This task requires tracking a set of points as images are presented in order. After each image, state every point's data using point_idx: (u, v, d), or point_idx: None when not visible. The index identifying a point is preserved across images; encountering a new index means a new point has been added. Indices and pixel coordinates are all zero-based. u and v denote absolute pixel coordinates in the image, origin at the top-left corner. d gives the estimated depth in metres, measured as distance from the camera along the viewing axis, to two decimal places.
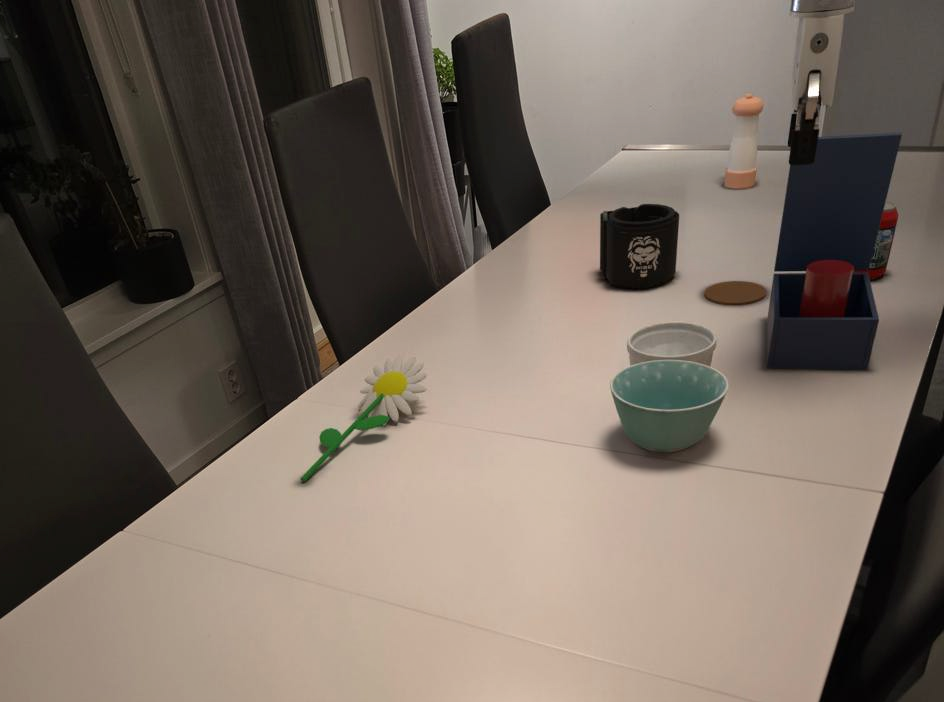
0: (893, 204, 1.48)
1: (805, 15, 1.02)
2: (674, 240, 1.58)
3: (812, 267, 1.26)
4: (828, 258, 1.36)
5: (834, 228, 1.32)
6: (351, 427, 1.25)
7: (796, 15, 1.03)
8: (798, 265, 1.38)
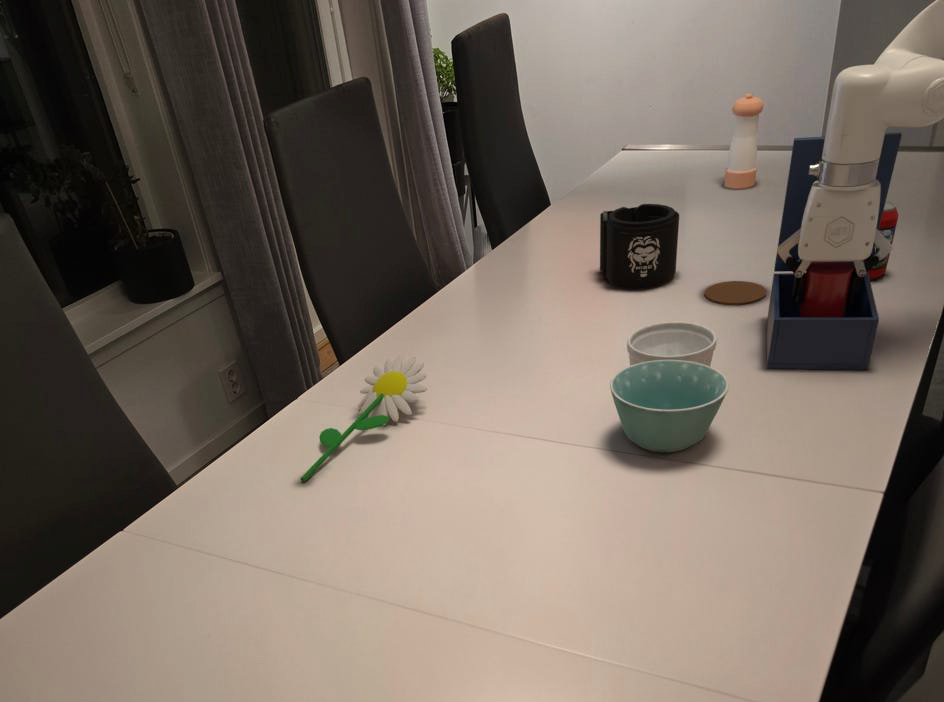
0: (893, 204, 1.48)
1: None
2: (674, 240, 1.58)
3: (812, 267, 1.26)
4: None
5: None
6: (351, 427, 1.25)
7: None
8: None
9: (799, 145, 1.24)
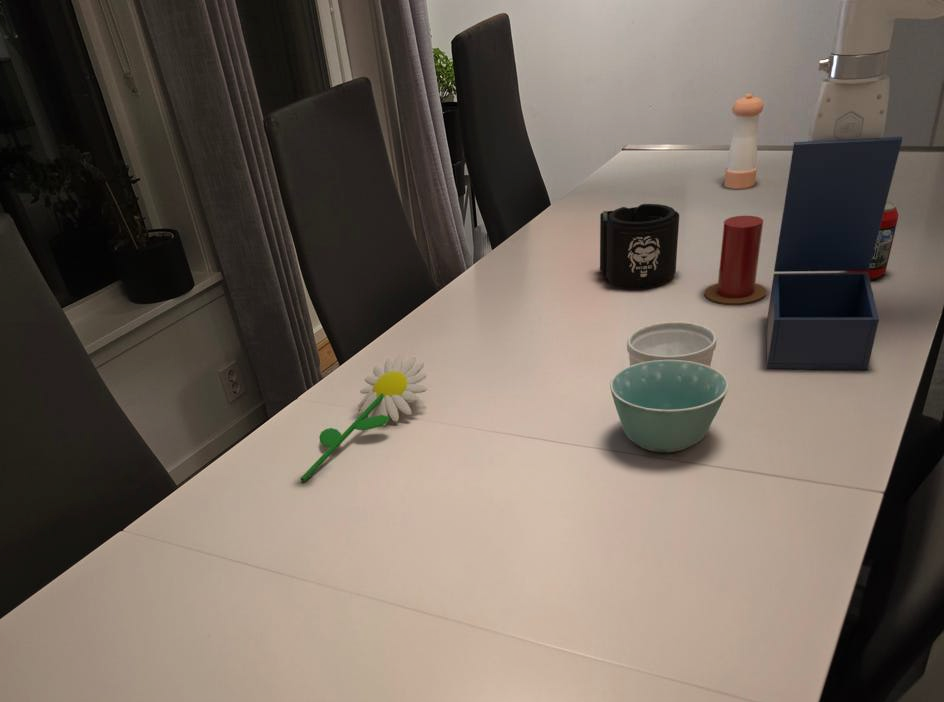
0: (893, 204, 1.48)
1: None
2: (674, 240, 1.58)
3: (728, 221, 1.47)
4: (828, 259, 1.35)
5: (834, 230, 1.32)
6: (351, 427, 1.25)
7: None
8: (798, 265, 1.38)
9: (799, 149, 1.23)
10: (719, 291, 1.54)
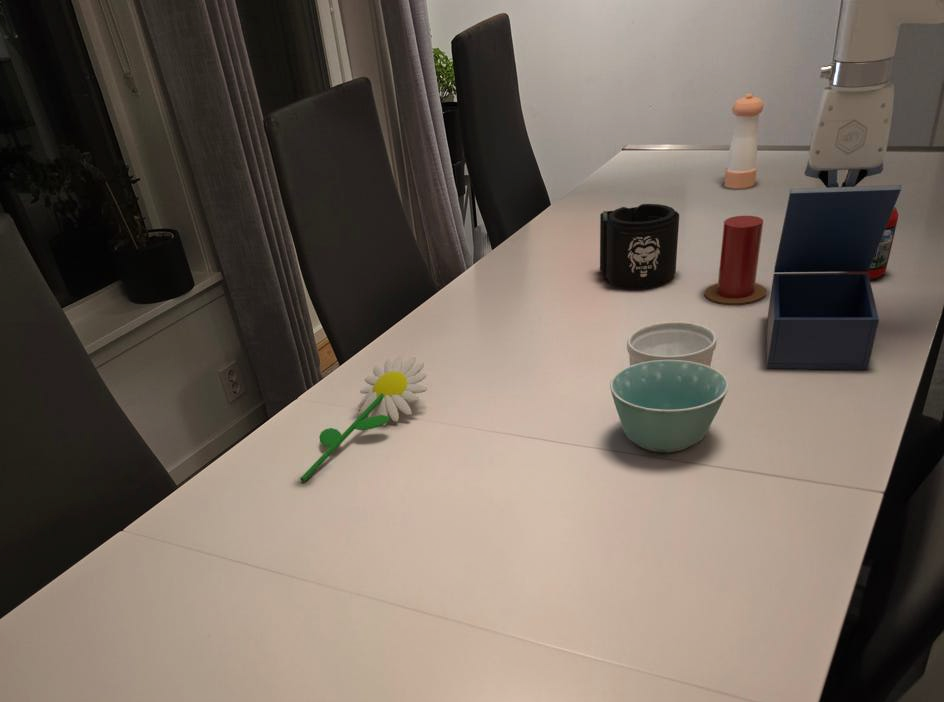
0: None
1: None
2: (674, 240, 1.58)
3: (728, 221, 1.47)
4: (828, 264, 1.35)
5: (833, 247, 1.31)
6: (351, 427, 1.25)
7: None
8: (798, 269, 1.38)
9: (795, 197, 1.20)
10: (719, 291, 1.54)
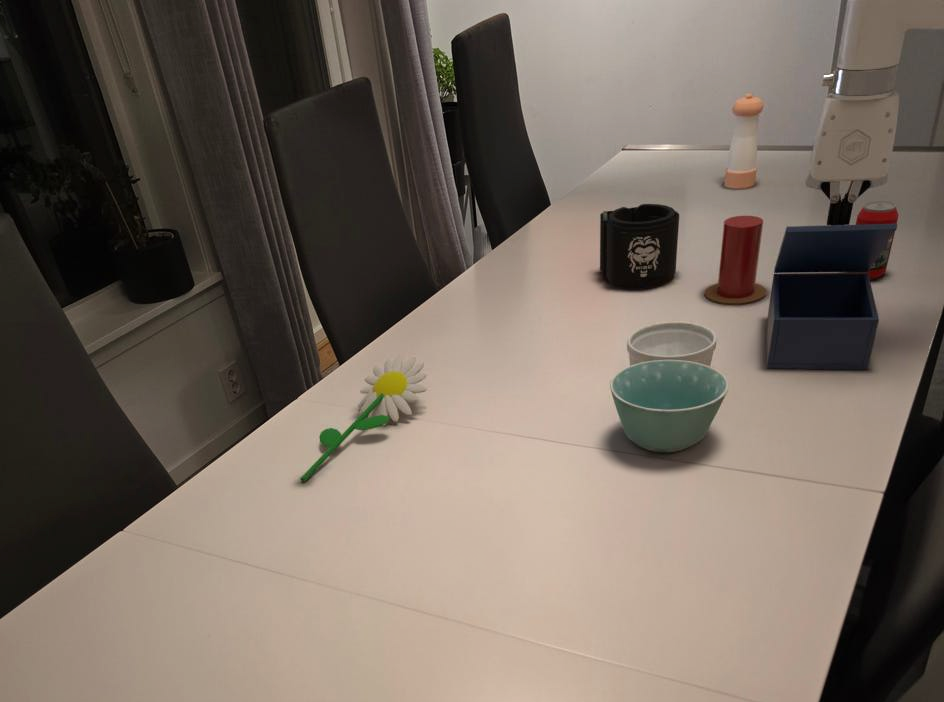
0: (893, 204, 1.48)
1: None
2: (674, 240, 1.58)
3: (728, 221, 1.47)
4: (827, 268, 1.35)
5: (831, 259, 1.31)
6: (351, 427, 1.25)
7: None
8: (797, 270, 1.38)
9: (791, 233, 1.21)
10: (719, 291, 1.54)
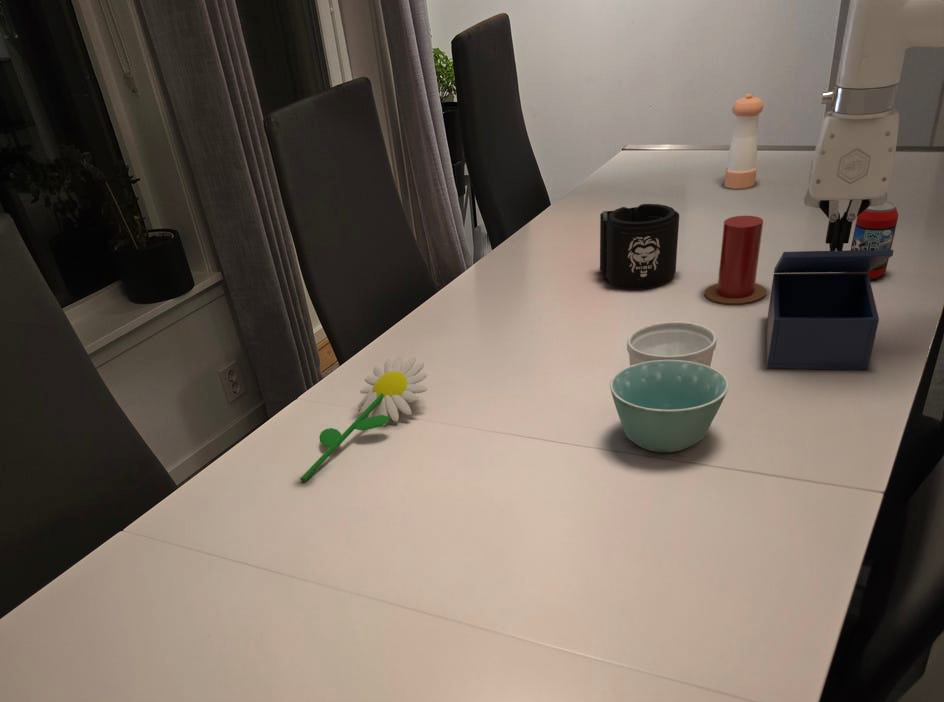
0: (893, 204, 1.48)
1: None
2: (674, 240, 1.58)
3: (728, 221, 1.47)
4: (827, 271, 1.36)
5: (830, 267, 1.31)
6: (351, 427, 1.25)
7: None
8: (797, 272, 1.38)
9: (788, 258, 1.21)
10: (719, 291, 1.54)
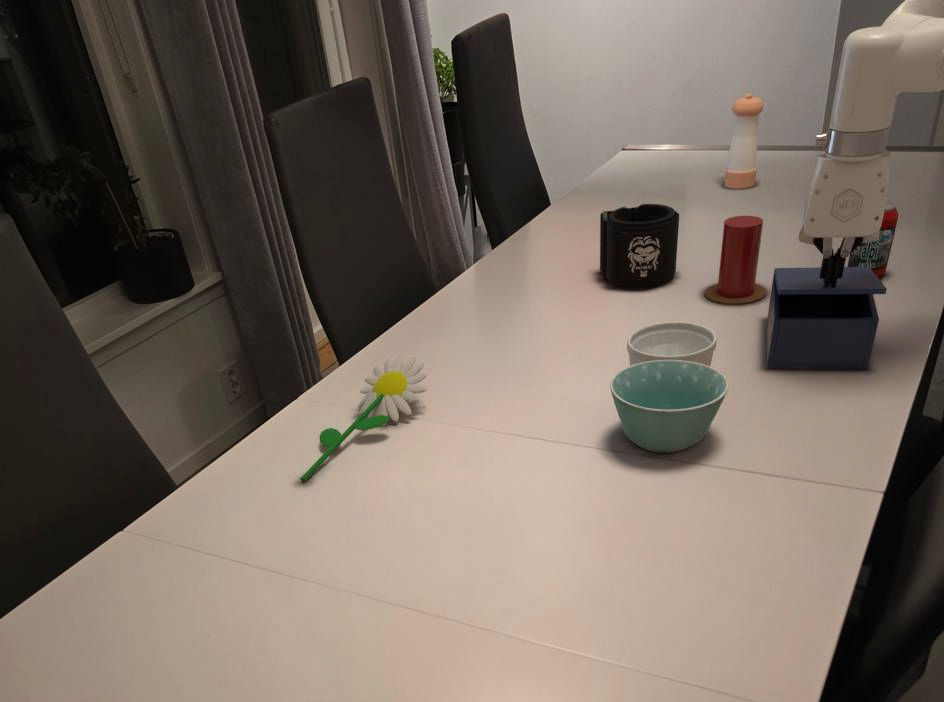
0: (893, 204, 1.48)
1: None
2: (674, 240, 1.58)
3: (728, 221, 1.47)
4: None
5: None
6: (351, 427, 1.25)
7: None
8: None
9: None
10: (719, 291, 1.54)
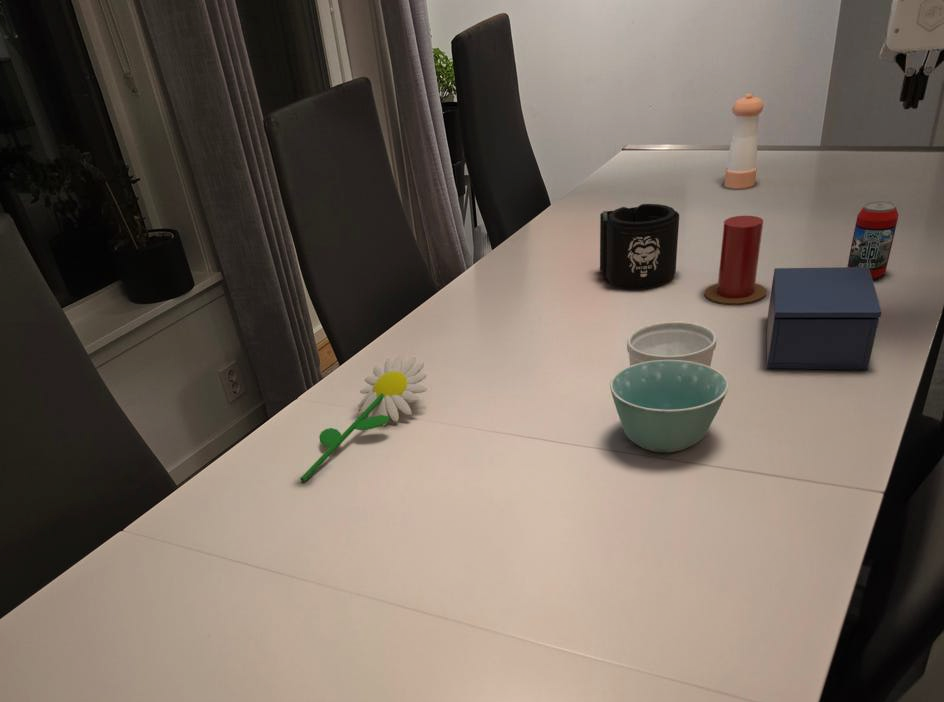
0: (893, 204, 1.48)
1: None
2: (674, 240, 1.58)
3: (728, 221, 1.47)
4: None
5: None
6: (351, 427, 1.25)
7: None
8: None
9: None
10: (719, 291, 1.54)
